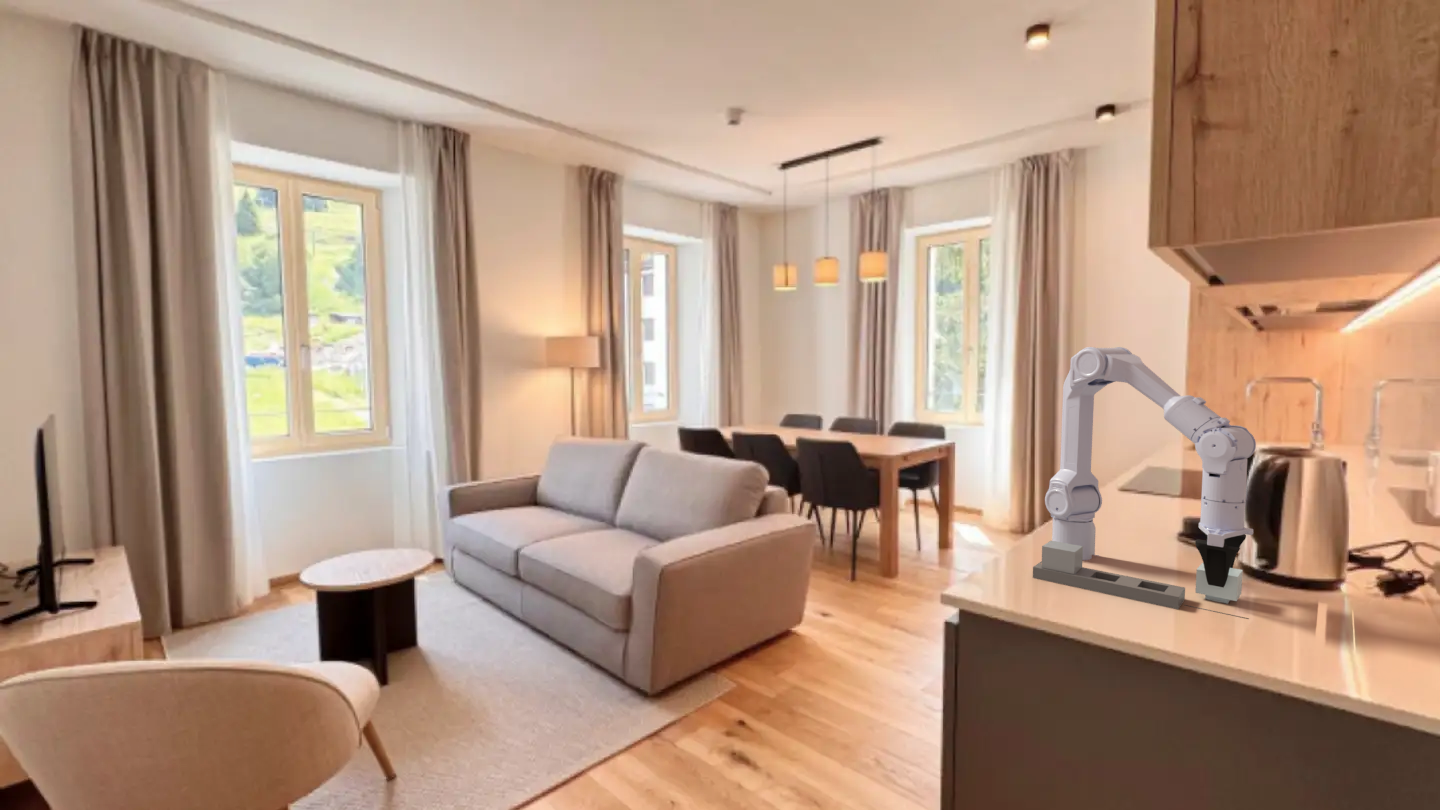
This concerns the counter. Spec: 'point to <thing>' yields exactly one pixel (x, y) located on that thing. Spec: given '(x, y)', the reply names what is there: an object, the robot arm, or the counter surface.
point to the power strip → (1103, 578)
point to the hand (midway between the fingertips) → (1219, 580)
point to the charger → (1220, 593)
